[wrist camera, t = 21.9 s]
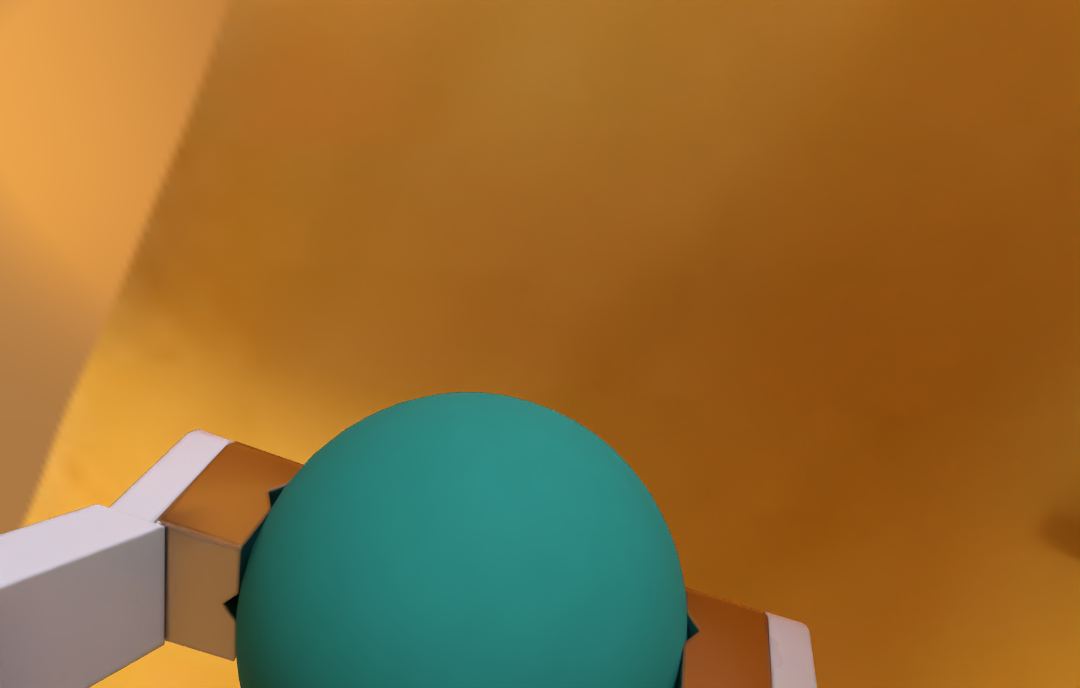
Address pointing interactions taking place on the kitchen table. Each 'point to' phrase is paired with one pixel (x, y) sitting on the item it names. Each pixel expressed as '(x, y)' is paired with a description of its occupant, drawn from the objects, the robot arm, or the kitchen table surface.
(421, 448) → the ball
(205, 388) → the kitchen table surface
